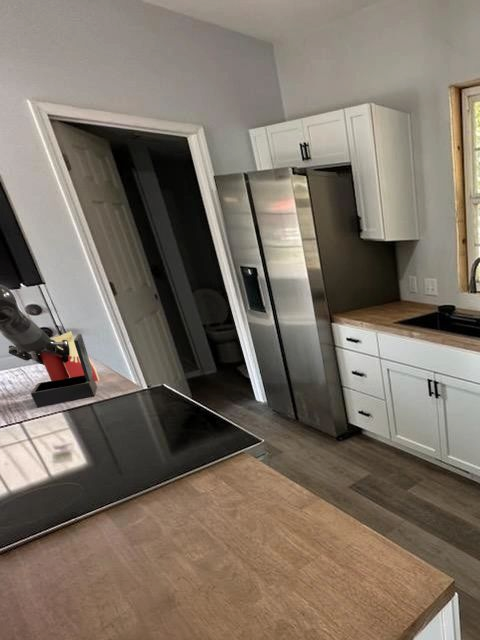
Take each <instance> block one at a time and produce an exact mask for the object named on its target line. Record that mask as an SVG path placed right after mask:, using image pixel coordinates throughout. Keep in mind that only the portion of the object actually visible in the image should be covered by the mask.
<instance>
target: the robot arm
mask: <svg viewBox="0 0 480 640" xmlns="http://www.w3.org/2000/svg"><path fill="white" fill-rule="evenodd" d="M0 333H1V335H2V336H3V337H4V338H5V339H6V340H8V341H9V342H10V343H11V344H13V345H9V346H8V354H9V355H11V356H14V357H17V358H19V359H21V360H23V361H28V362H29V361H30V360H33V361H36V363H38V364H39V365H43V366H45V365H44V363H43V361H42V359H41V356H40V354H42V353H48V354H50V355H52V356H54V355H55V356H57V357H59V358H60V359H61V360H62V361H63V362H64V363H67V362H68V361H69V357H68V356H69V355H70V348H69V344H68V341H67V340H62V342H56V341H54V340H52V339H50V338H51V337H50V336H49V335H48V334H47V333H46V332H45V331H44V330H43V329H42V328H41V327H40V326H38V325H37V323H35V322H34V321H33V320H31V319H30V318H29V317H27V316H26V315H25V313H23V311H21V309H20V307H19V304H18V302H17V298H16V296H15V295H14V293H13V291H12V290H10V289H9V287H7V286H5V285H3V284H0ZM57 346H59V347H61V349H60V348H58V347H57ZM62 349H63V350H62Z"/></svg>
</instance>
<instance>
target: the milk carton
mask: <svg viewBox="0 0 480 640" xmlns="http://www.w3.org/2000/svg"><path fill="white" fill-rule="evenodd" d="M49 338H50V339H52V340H54V341H56V342H62V340H67V341H68V344H69V348H70V355H69V356H68V357H69V361H68V362H67V363H64V362H63V363H64V365H65V367H66V370H67V372H68V374H69V378H70V377H76V376H81V375H84V372H83V369H82V366H81V362H80V359H79V356H78V353H77V350H76V346H75V343H74V340H75V338H74V336H73V332H72V330H70V331H68V332H66V333H62V334H61V335H59V336H55V337H49ZM57 347H58V348H60V349H61V347H59V346H57ZM62 350H63V349H62ZM88 358H89V361H90V364H91V367H92V371H93V373H92V375H93V378H94V380H95V382H99V381H100V377H99V374H98V371H97V369H96V367H95V365H94V364H93V362H92V361H91V359H90V357H89V356H88Z"/></svg>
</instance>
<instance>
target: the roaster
mask: <svg viewBox="0 0 480 640" xmlns="http://www.w3.org/2000/svg"><path fill="white" fill-rule="evenodd" d="M96 382H97V381H95V380H94V378H93V375H92V376H91V380H90V381H88V382H86V378H85V375H81V376H76V377H70V378H67V379H63V380H57V381H51V380H47V381H42V382H38V383H37V384H35V386H34V388H33V389H32V390H31V392H30V395H31V398H32V400H33V402H34V404H35V406H36V408H37V409H40V408H44V407H49V406H55V405H58V404H64V403H69V402H75V401H78V400H84V399H89V398H93V397H95V396H96V393H97V389H98V385H97V383H96Z"/></svg>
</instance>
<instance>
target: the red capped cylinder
mask: <svg viewBox="0 0 480 640" xmlns="http://www.w3.org/2000/svg"><path fill="white" fill-rule="evenodd" d="M39 355H40V356H41V359H42V361H43V363H44V365H43V366H44V367H45V368H44V369H46V372H47V374H48V376H49V379H50V381H57V380H63V379H67V378H69V374H68V372H67V370H66V367H65V365H64V363H63V361H62V360H61V359H60V358H59V357H57V356H55V355H54V356H52V355H50V354H48V353H42V354H39Z"/></svg>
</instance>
